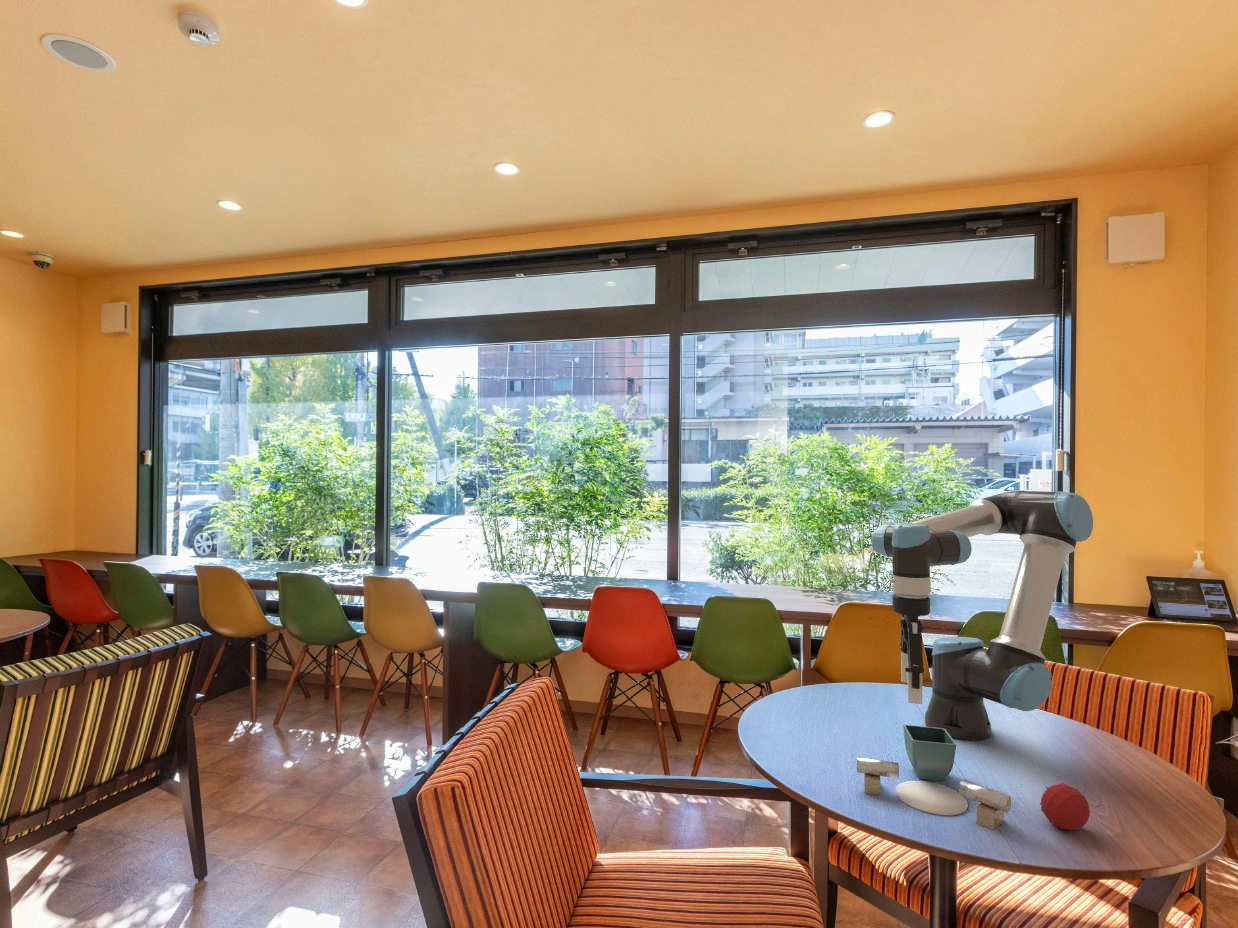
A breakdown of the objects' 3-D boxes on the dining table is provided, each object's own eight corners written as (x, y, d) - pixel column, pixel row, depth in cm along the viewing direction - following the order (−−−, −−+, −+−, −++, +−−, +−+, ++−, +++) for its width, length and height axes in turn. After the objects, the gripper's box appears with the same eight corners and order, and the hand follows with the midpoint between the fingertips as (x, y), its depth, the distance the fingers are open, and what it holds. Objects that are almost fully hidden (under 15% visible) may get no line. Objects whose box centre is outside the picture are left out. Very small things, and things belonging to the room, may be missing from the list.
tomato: (1089, 791, 115) (1052, 764, 122) (1057, 819, 114) (1021, 790, 122) (1105, 819, 117) (1068, 791, 124) (1073, 846, 117) (1038, 817, 124)
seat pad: (938, 780, 137) (938, 778, 137) (983, 812, 124) (983, 810, 124) (882, 784, 134) (882, 782, 134) (922, 818, 121) (922, 815, 121)
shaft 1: (897, 787, 133) (897, 758, 133) (899, 798, 129) (899, 768, 129) (856, 780, 136) (856, 752, 136) (856, 791, 131) (856, 761, 132)
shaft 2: (956, 814, 123) (957, 783, 123) (967, 806, 126) (967, 775, 126) (1002, 833, 117) (1002, 800, 117) (1012, 823, 120) (1013, 791, 120)
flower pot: (957, 787, 134) (957, 744, 134) (912, 782, 135) (912, 740, 136) (944, 768, 142) (944, 727, 142) (902, 764, 144) (902, 724, 144)
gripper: (887, 584, 153) (888, 672, 153) (897, 605, 129) (898, 710, 129) (922, 585, 151) (922, 676, 150) (938, 607, 127) (939, 714, 127)
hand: (911, 692), depth 140 cm, fingers open, 13 cm apart
